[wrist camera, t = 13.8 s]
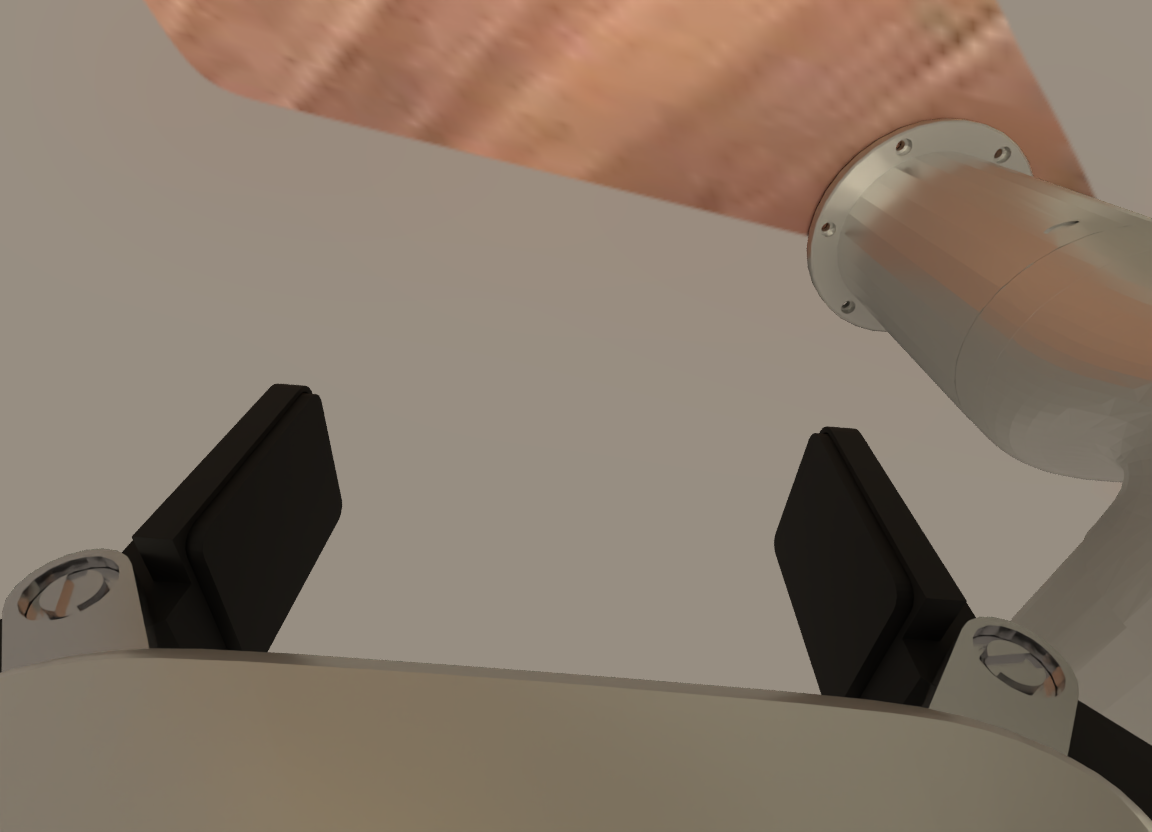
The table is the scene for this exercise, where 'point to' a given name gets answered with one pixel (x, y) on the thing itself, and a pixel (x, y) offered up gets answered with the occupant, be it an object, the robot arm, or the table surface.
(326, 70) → the table surface
